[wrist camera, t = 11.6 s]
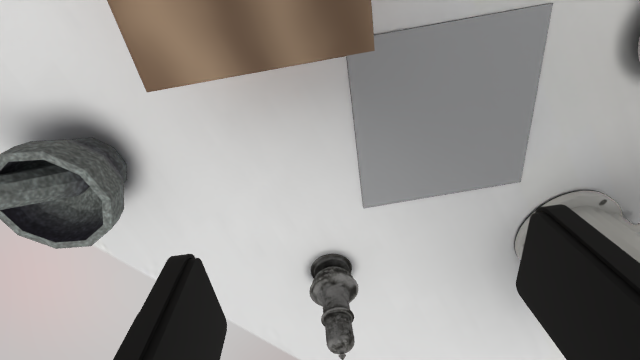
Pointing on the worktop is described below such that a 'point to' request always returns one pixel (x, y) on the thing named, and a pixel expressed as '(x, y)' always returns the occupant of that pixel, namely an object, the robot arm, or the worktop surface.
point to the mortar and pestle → (62, 191)
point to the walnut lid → (237, 36)
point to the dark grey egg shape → (639, 49)
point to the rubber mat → (447, 105)
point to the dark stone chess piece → (335, 300)
